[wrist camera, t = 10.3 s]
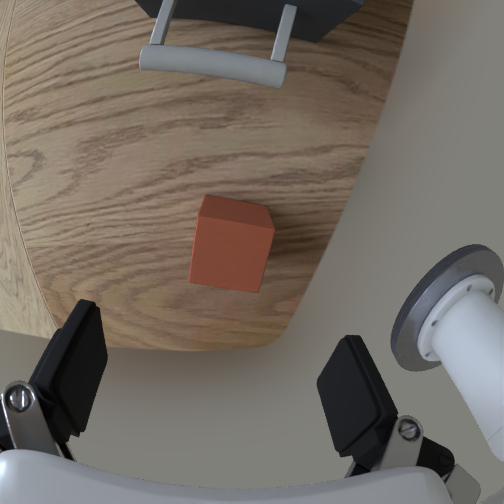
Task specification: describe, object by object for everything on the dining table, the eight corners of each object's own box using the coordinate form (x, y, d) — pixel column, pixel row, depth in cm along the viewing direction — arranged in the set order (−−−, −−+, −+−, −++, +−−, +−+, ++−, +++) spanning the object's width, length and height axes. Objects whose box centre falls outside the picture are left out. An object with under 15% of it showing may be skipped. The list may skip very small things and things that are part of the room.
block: (267, 205, 20) (276, 229, 16) (253, 260, 22) (258, 293, 18) (205, 194, 20) (197, 215, 16) (196, 250, 22) (188, 283, 17)
